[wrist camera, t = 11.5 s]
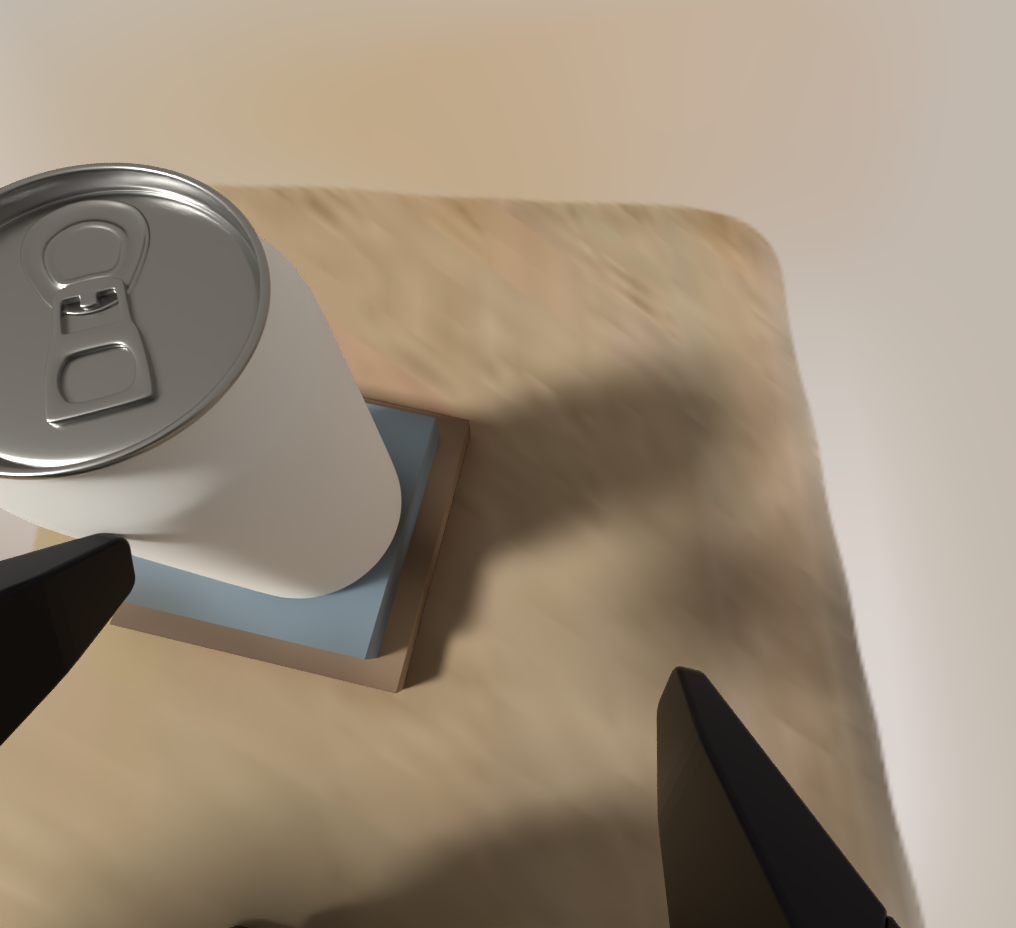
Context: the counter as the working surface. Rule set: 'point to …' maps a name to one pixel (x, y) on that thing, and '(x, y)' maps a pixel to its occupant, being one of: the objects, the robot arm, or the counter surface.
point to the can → (180, 387)
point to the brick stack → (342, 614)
